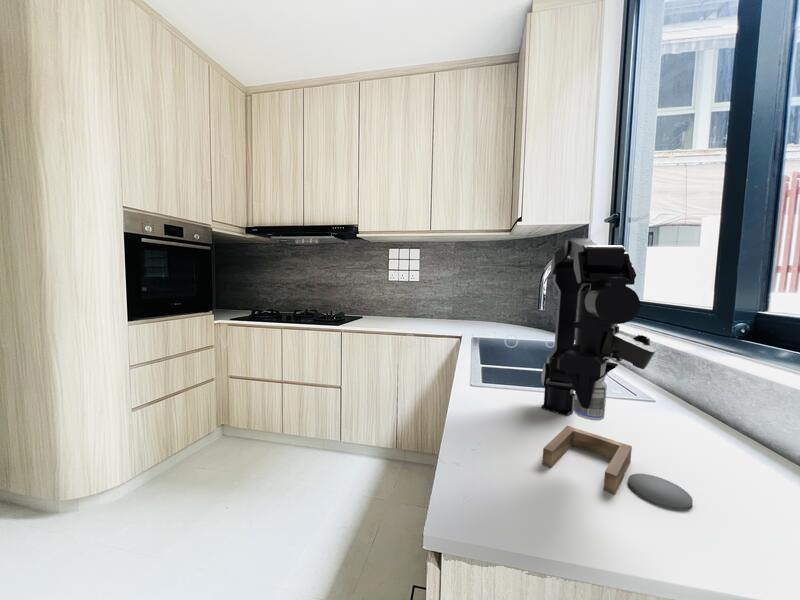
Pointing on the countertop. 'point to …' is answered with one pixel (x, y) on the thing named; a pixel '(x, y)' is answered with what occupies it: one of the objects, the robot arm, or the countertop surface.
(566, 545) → the countertop surface
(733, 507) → the countertop surface
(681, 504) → the coaster
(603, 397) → the pill bottle
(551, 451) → the nook
